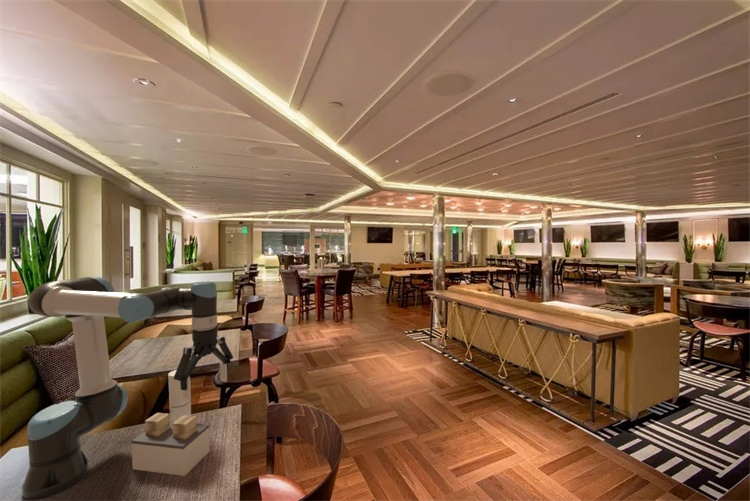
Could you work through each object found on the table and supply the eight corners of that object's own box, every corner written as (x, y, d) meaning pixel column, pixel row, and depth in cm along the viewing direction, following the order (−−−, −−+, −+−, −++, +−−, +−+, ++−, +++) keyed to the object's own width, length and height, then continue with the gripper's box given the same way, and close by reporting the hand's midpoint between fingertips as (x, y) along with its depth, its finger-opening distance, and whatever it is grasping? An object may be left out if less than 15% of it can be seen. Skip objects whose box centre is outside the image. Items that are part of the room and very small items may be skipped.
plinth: (132, 469, 106) (131, 440, 105) (162, 446, 118) (161, 420, 117) (184, 476, 102) (183, 446, 102) (209, 451, 114) (208, 424, 114)
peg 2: (173, 446, 107) (172, 423, 106) (184, 437, 112) (183, 415, 111) (186, 447, 106) (185, 424, 106) (197, 438, 111) (196, 416, 111)
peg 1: (146, 443, 109) (145, 420, 108) (158, 434, 114) (157, 412, 113) (158, 444, 108) (157, 421, 107) (170, 435, 113) (169, 413, 112)
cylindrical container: (181, 439, 121) (179, 376, 120) (166, 437, 123) (163, 375, 122) (195, 428, 128) (193, 369, 127) (181, 427, 130) (178, 367, 129)
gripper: (175, 340, 92) (176, 410, 93) (242, 320, 115) (243, 376, 116) (159, 336, 95) (161, 404, 96) (228, 317, 118) (229, 373, 119)
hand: (206, 389), depth 106 cm, fingers open, 13 cm apart
